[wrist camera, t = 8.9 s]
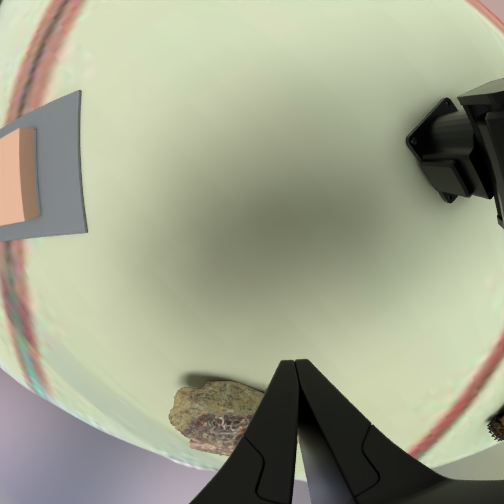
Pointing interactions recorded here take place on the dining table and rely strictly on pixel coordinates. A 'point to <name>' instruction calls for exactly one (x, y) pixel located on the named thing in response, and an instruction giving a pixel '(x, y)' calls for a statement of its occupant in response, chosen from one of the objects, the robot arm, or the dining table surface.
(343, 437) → the robot arm
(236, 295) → the dining table surface
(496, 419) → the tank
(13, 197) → the block
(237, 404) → the rock
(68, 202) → the mat
